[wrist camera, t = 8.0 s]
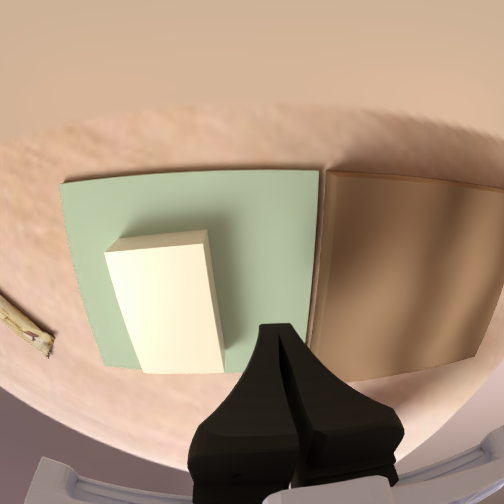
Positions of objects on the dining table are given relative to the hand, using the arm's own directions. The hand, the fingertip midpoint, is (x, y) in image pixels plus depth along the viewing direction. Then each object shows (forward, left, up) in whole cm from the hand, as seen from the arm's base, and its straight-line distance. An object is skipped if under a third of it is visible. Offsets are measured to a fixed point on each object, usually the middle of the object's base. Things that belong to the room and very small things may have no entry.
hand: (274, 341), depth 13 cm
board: (+6, -8, -5) cm, 11 cm away
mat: (-3, +4, -5) cm, 7 cm away
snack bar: (-15, +14, -6) cm, 21 cm away
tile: (-4, +4, -4) cm, 6 cm away
